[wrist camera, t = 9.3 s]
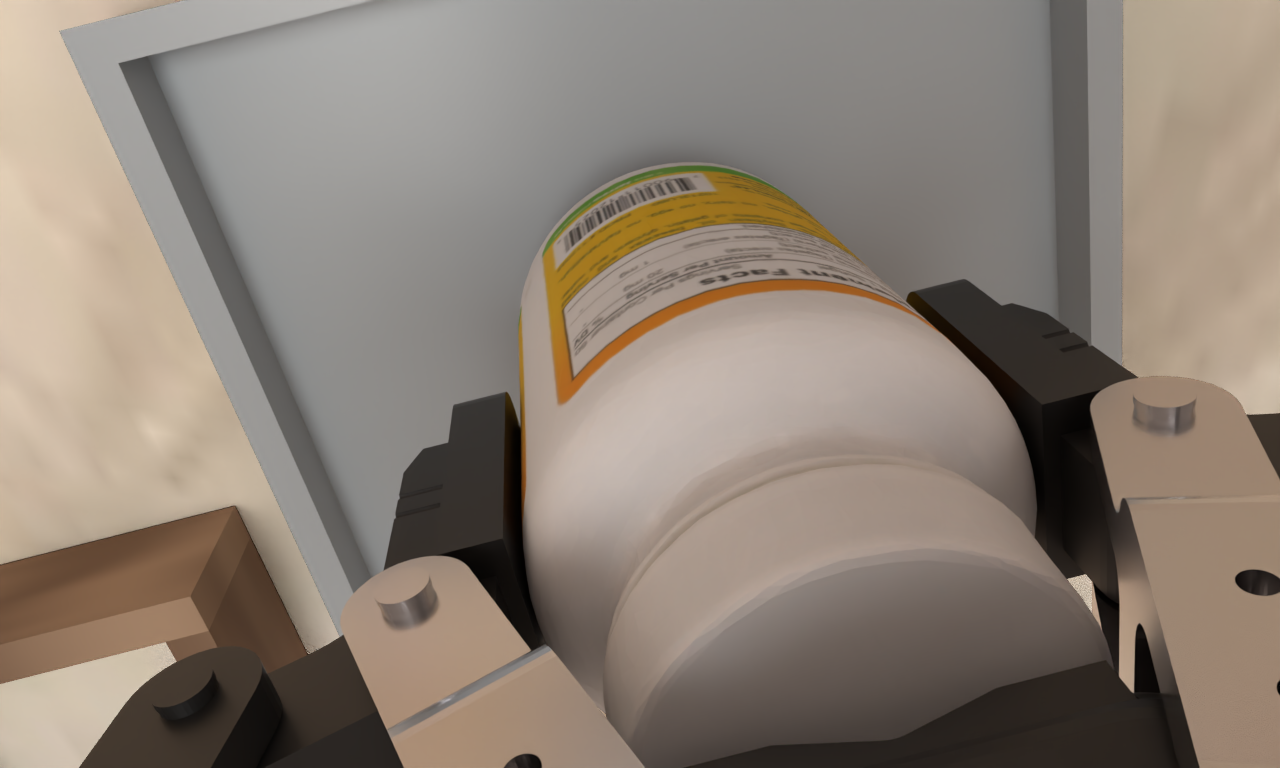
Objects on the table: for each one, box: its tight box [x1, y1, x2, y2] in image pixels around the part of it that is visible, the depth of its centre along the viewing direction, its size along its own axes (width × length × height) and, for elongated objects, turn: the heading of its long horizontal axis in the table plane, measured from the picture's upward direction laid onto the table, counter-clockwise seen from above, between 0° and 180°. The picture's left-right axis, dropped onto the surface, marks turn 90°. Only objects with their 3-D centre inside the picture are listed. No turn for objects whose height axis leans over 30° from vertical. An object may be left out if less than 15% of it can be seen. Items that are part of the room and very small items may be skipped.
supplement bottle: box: [518, 162, 1114, 768], centre depth 12 cm, size 5×5×10 cm
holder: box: [0, 506, 307, 684], centre depth 20 cm, size 9×9×3 cm
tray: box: [59, 0, 1123, 637], centre depth 18 cm, size 16×13×2 cm
